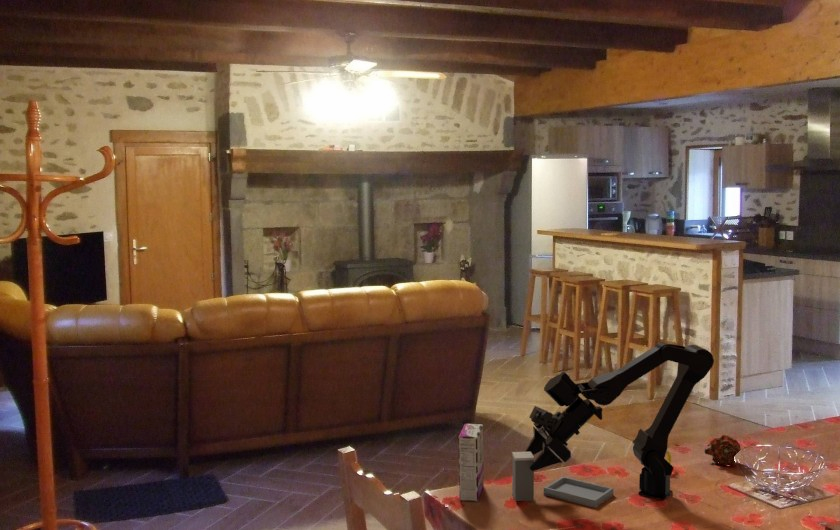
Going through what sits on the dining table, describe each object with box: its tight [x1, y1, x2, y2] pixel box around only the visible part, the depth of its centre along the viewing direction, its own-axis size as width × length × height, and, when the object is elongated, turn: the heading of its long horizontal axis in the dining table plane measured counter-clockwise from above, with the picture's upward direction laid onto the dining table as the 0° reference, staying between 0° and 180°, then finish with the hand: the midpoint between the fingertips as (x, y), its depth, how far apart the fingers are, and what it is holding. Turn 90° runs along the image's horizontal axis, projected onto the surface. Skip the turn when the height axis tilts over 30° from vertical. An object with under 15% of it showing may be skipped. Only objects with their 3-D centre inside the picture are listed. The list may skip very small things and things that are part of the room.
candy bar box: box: [457, 423, 485, 503], centre depth 203 cm, size 11×5×16 cm, turn 168°
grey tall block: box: [511, 451, 535, 502], centre depth 199 cm, size 5×5×11 cm
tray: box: [543, 476, 614, 509], centre depth 201 cm, size 14×10×2 cm
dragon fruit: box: [703, 434, 742, 466], centre depth 223 cm, size 8×8×12 cm
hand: (527, 463), depth 199 cm, fingers open, 9 cm apart
